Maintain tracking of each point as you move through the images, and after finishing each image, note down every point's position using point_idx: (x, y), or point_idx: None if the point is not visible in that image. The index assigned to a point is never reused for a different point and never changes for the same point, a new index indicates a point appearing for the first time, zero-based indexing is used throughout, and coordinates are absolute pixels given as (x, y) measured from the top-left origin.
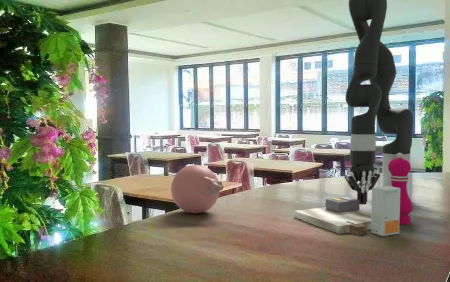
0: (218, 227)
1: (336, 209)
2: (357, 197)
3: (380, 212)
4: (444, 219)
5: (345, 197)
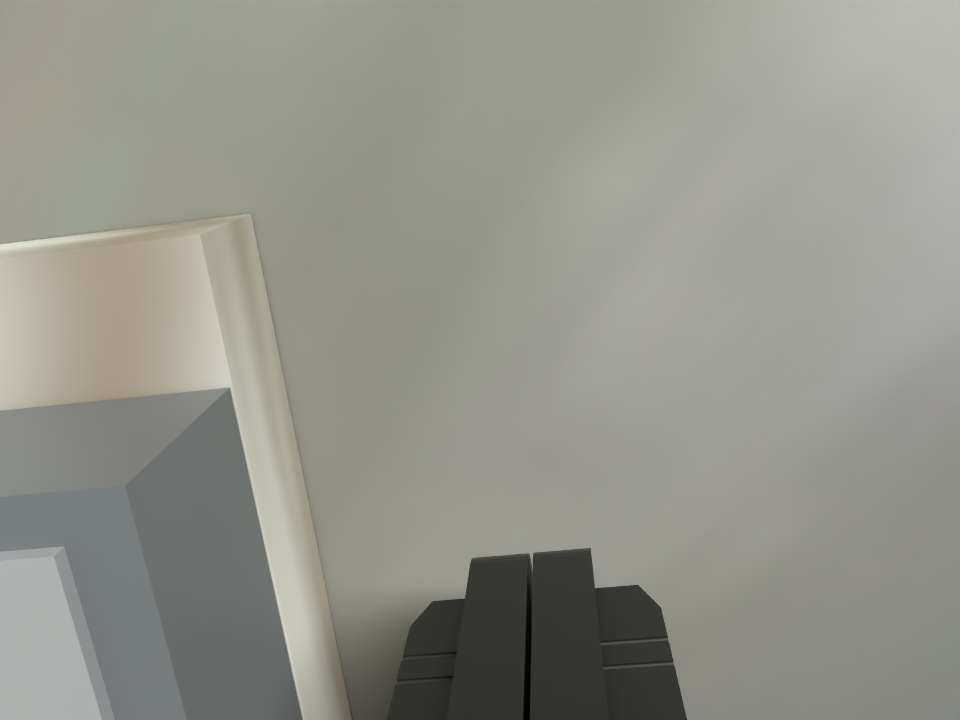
0: None
1: None
2: (395, 698)
3: None
4: None
5: (9, 644)
